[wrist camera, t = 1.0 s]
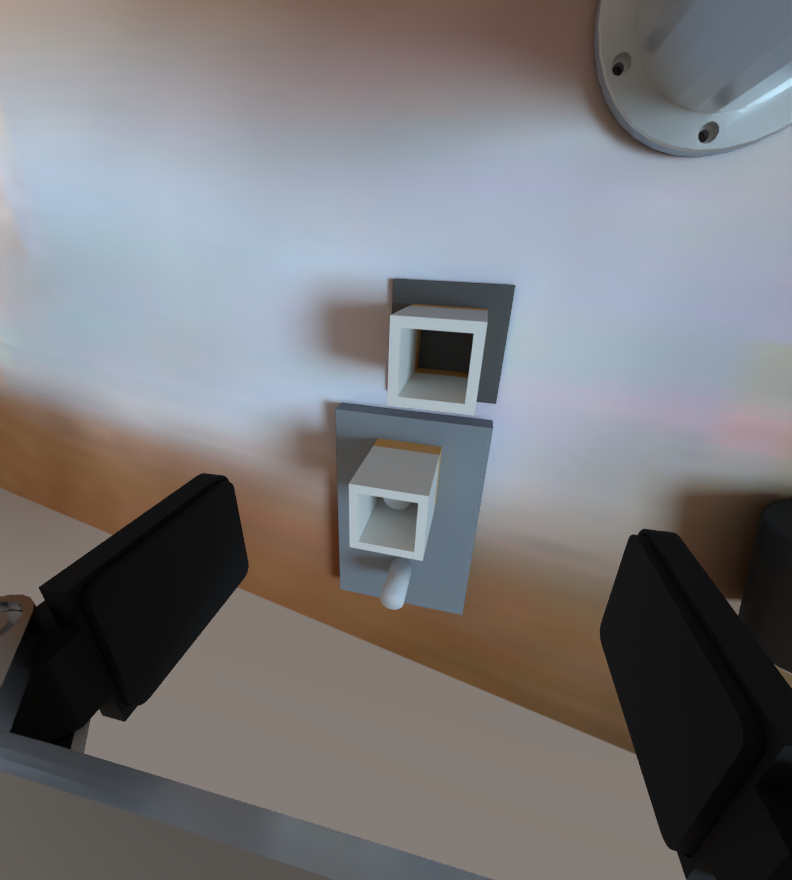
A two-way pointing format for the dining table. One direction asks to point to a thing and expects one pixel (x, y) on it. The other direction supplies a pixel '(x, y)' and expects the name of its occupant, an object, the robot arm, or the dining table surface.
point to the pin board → (448, 507)
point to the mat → (455, 346)
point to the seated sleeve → (395, 477)
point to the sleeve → (431, 384)
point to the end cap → (771, 585)
